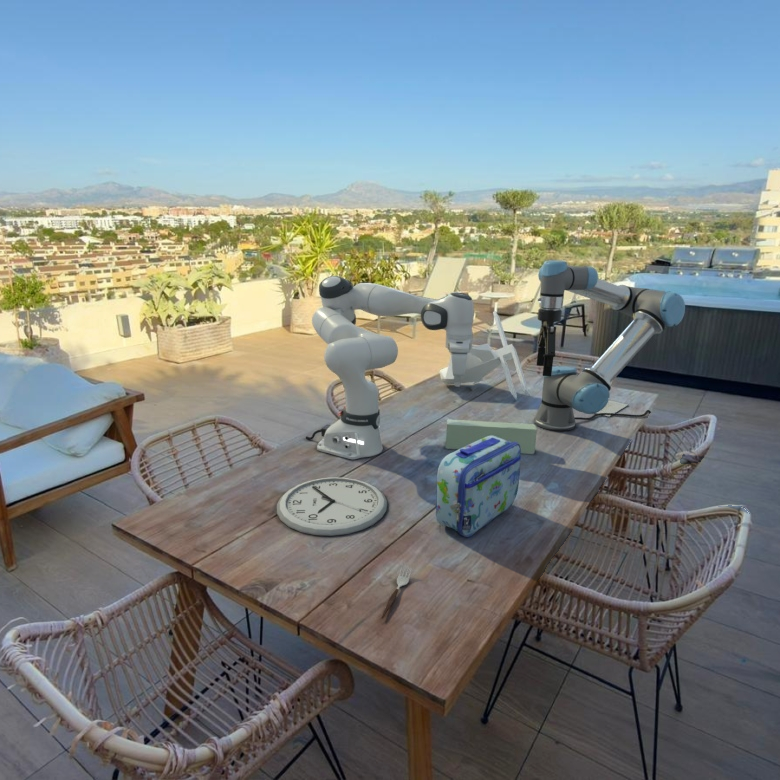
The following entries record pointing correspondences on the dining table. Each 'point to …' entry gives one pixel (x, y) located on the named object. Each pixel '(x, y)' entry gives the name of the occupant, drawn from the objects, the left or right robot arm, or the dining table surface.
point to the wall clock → (331, 506)
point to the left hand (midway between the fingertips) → (457, 382)
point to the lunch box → (477, 484)
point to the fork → (401, 582)
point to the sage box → (490, 433)
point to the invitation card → (612, 407)
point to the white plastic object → (488, 363)
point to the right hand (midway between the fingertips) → (543, 370)
